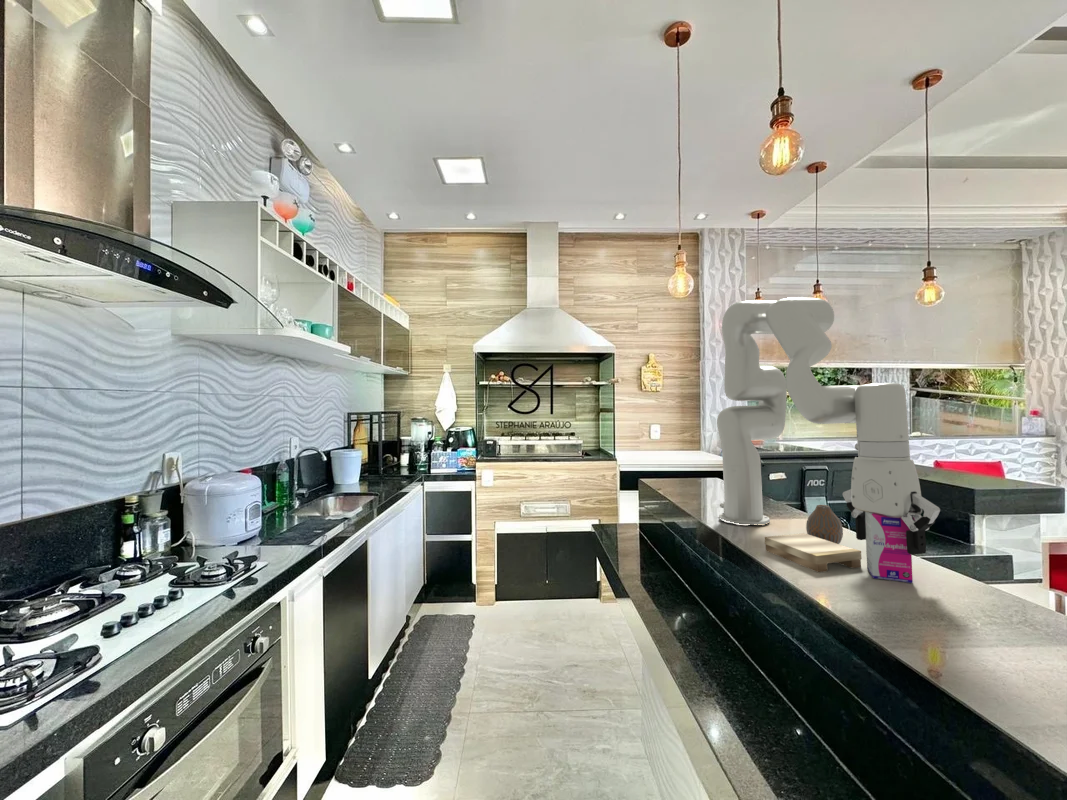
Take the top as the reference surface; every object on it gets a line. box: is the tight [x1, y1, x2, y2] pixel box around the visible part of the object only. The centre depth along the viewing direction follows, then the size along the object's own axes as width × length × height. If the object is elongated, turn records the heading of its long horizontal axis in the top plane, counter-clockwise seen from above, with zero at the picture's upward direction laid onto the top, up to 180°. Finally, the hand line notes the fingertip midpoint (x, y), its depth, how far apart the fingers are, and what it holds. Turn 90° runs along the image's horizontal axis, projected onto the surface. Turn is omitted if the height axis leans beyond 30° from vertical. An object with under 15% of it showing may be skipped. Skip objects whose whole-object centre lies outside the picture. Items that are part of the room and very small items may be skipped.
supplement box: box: [865, 512, 914, 584], centre depth 82 cm, size 6×6×12 cm
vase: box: [805, 504, 844, 544], centre depth 102 cm, size 7×7×9 cm
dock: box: [764, 532, 862, 573], centre depth 93 cm, size 14×10×3 cm
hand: (889, 545), depth 82 cm, fingers open, 9 cm apart
